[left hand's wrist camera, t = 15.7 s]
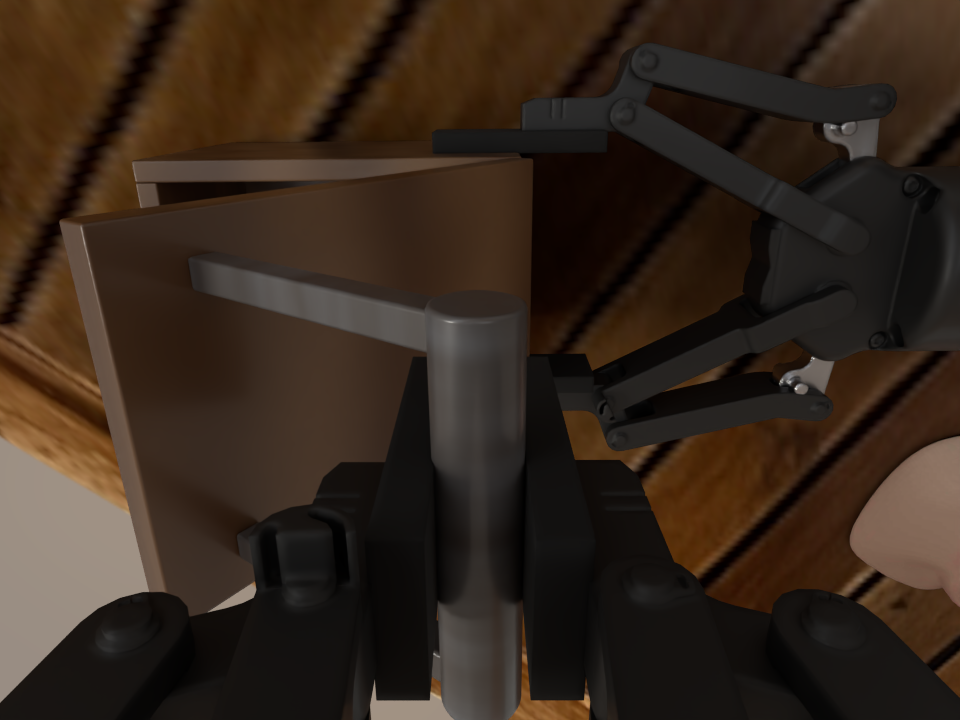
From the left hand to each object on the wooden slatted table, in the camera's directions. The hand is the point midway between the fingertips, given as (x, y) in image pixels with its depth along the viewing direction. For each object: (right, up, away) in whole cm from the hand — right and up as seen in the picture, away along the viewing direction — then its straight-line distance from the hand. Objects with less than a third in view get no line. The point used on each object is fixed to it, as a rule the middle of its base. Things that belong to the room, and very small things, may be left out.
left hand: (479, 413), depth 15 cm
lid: (-3, +2, +4) cm, 6 cm away
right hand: (-2, +5, +13) cm, 14 cm away
